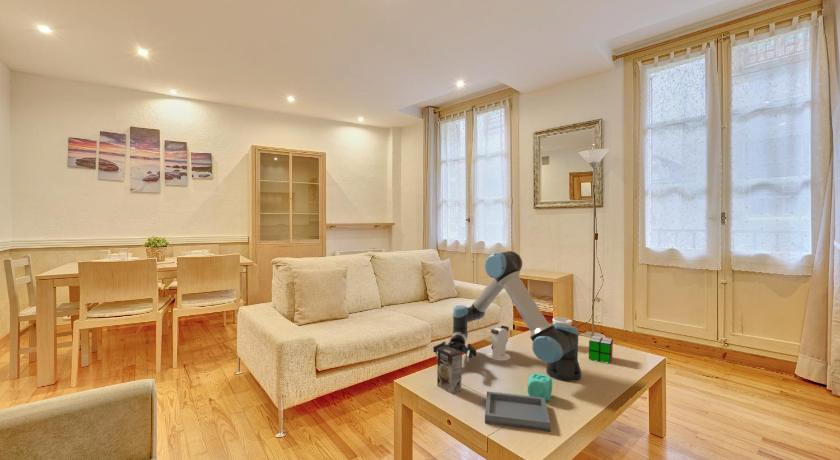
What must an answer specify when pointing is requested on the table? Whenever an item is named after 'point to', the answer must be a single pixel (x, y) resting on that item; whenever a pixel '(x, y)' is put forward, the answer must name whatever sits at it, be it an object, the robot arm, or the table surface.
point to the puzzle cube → (600, 349)
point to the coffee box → (449, 369)
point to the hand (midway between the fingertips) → (452, 357)
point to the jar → (562, 320)
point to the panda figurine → (499, 343)
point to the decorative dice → (540, 386)
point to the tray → (517, 411)
